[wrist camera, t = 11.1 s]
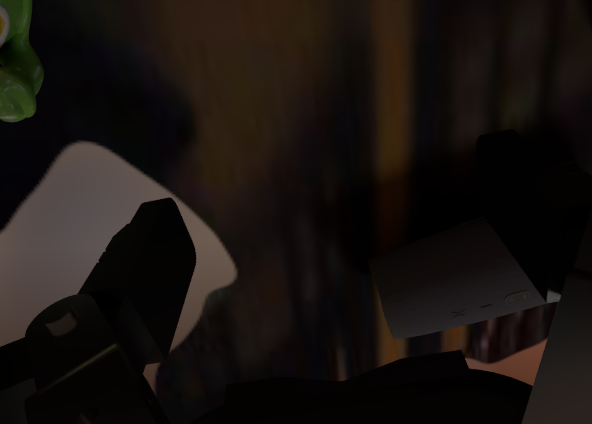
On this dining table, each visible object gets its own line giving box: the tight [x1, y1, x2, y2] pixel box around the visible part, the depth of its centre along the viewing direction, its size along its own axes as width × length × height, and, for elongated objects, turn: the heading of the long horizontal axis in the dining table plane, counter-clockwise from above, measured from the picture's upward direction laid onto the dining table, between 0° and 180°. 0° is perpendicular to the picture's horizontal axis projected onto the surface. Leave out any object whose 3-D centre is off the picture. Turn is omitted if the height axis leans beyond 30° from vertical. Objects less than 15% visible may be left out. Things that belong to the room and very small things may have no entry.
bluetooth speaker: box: [368, 217, 546, 339], centre depth 41 cm, size 23×9×10 cm, turn 111°
